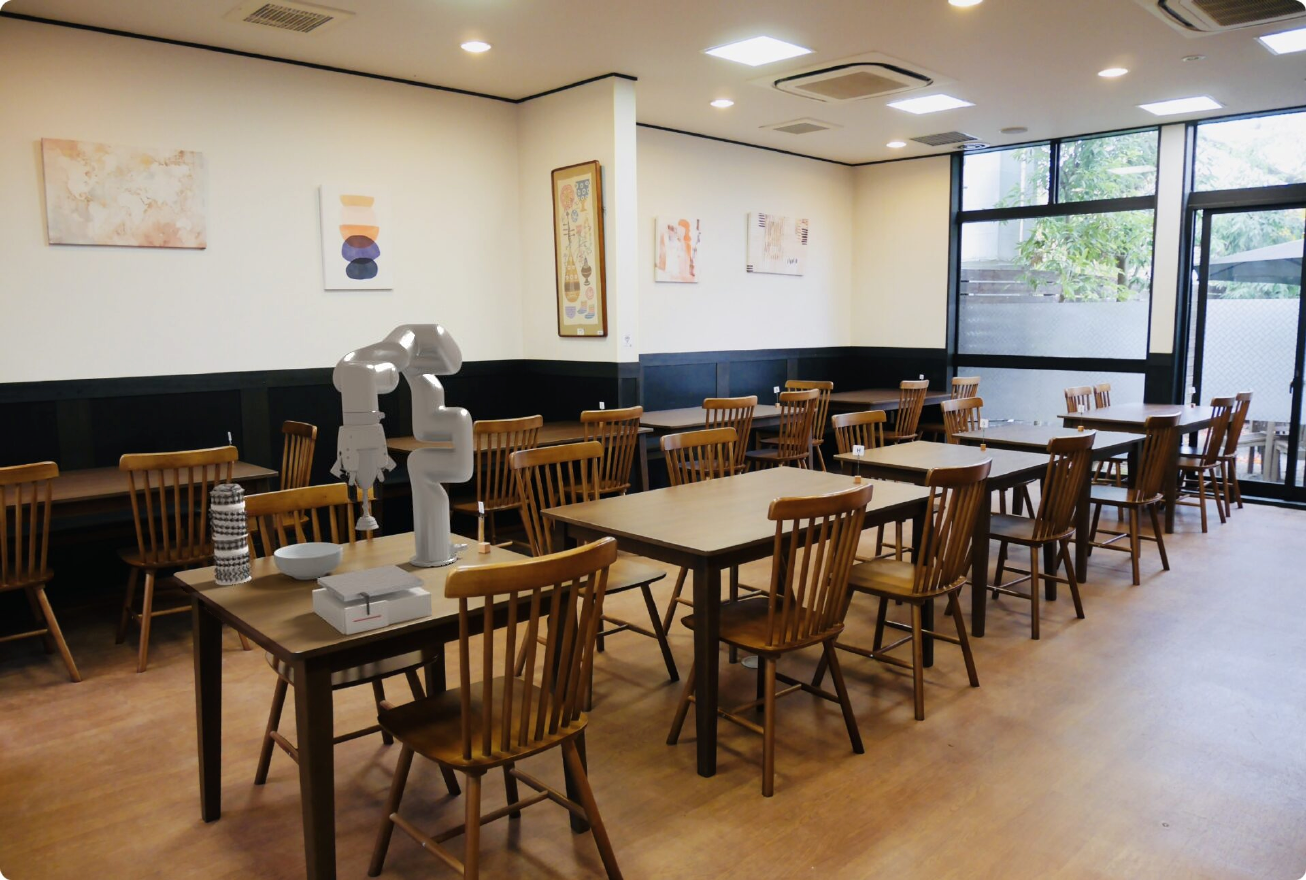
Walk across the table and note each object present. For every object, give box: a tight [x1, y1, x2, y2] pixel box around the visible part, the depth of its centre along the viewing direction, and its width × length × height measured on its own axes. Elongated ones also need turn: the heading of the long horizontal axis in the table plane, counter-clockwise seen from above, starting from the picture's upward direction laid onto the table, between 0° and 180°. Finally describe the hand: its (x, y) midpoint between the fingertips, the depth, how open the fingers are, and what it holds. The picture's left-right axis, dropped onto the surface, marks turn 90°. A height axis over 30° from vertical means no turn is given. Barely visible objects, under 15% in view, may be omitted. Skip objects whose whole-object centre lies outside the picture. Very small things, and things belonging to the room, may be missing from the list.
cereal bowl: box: [273, 542, 344, 581], centre depth 242 cm, size 17×17×7 cm
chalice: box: [355, 448, 379, 531], centre depth 207 cm, size 7×7×18 cm
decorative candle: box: [207, 483, 252, 586], centre depth 237 cm, size 9×9×25 cm
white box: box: [316, 564, 425, 615], centre depth 208 cm, size 18×21×6 cm
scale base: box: [311, 587, 433, 635], centre depth 209 cm, size 20×21×6 cm
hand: (365, 499), depth 207 cm, fingers closed on chalice, 4 cm apart
